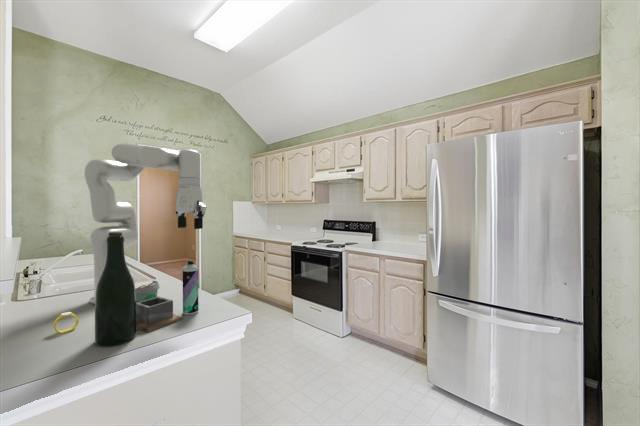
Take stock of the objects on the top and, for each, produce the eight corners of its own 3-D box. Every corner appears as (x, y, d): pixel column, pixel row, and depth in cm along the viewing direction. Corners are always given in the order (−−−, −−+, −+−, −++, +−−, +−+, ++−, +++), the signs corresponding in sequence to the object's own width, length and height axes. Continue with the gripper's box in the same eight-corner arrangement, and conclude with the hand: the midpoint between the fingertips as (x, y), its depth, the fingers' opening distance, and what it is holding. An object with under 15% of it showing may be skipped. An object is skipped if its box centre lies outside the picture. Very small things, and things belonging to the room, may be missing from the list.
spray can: (180, 312, 109) (180, 260, 109) (194, 308, 113) (194, 258, 113) (186, 316, 105) (186, 262, 105) (200, 312, 109) (200, 260, 109)
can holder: (125, 323, 99) (125, 303, 99) (159, 312, 109) (159, 294, 109) (148, 332, 92) (147, 311, 92) (182, 319, 102) (182, 300, 102)
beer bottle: (90, 340, 86) (89, 232, 86) (130, 328, 95) (129, 229, 94) (100, 351, 80) (98, 234, 79) (141, 338, 88) (141, 232, 87)
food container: (142, 316, 104) (142, 290, 104) (128, 315, 106) (128, 288, 105) (166, 305, 117) (166, 281, 116) (153, 304, 118) (153, 280, 117)
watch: (76, 328, 95) (77, 310, 96) (78, 330, 94) (79, 312, 94) (52, 332, 91) (53, 314, 91) (53, 335, 89) (55, 316, 89)
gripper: (166, 183, 109) (167, 227, 109) (195, 181, 100) (196, 230, 101) (184, 184, 115) (184, 226, 116) (213, 183, 107) (213, 228, 107)
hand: (190, 228), depth 108 cm, fingers open, 9 cm apart
